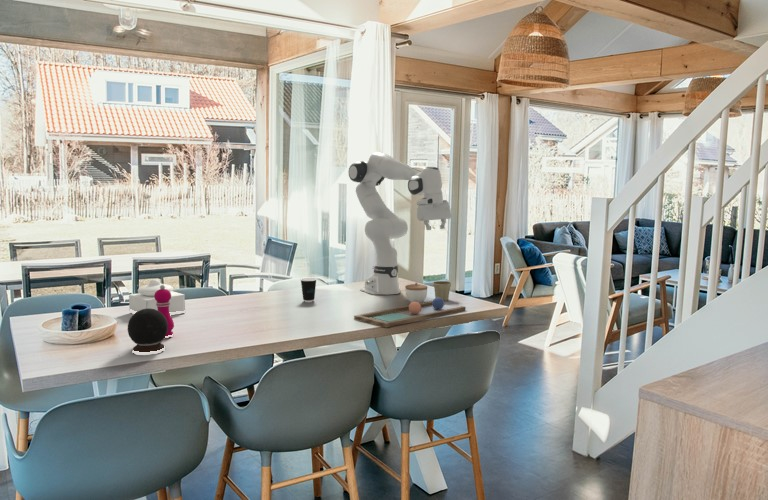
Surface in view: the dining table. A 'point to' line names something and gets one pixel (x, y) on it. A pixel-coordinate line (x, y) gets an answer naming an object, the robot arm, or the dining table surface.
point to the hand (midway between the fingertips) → (435, 229)
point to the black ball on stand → (147, 330)
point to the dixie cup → (308, 289)
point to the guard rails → (367, 318)
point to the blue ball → (438, 303)
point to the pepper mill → (164, 306)
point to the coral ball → (414, 307)
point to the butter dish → (147, 299)
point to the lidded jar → (416, 292)
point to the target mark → (391, 317)
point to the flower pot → (442, 289)
